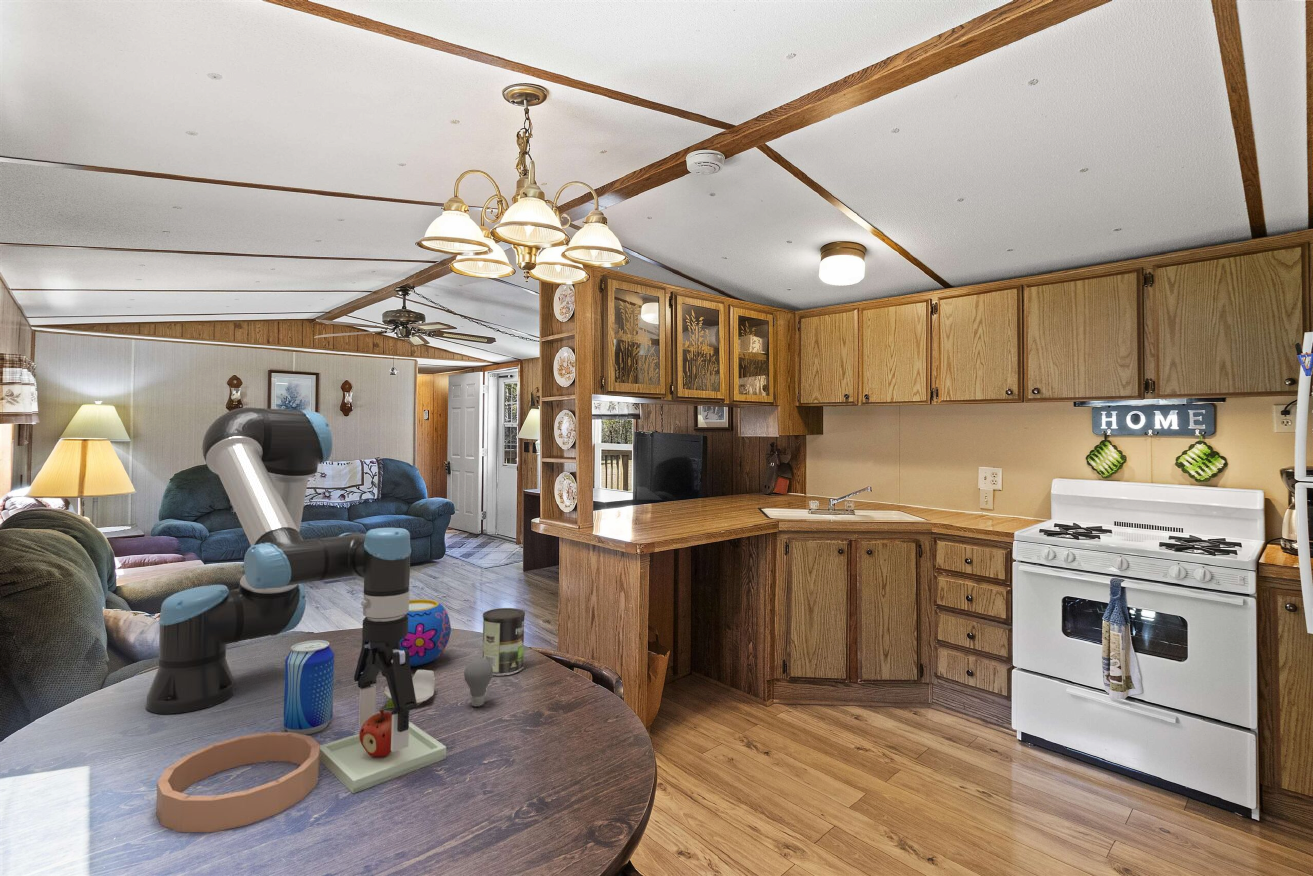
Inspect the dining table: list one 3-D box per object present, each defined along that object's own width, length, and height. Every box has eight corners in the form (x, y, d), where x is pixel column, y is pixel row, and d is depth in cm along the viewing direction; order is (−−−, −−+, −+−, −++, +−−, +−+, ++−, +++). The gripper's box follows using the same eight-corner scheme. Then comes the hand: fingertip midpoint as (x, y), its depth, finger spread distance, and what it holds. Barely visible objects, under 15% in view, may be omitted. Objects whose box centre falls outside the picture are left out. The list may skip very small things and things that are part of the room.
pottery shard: (378, 714, 128) (379, 690, 128) (386, 694, 139) (387, 671, 139) (432, 709, 131) (432, 685, 131) (435, 689, 142) (435, 667, 142)
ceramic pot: (388, 652, 166) (389, 596, 166) (456, 651, 168) (457, 596, 168) (364, 676, 148) (366, 613, 149) (441, 675, 150) (442, 613, 150)
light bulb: (476, 714, 129) (478, 665, 129) (457, 707, 132) (458, 660, 133) (498, 704, 134) (499, 658, 134) (478, 697, 138) (480, 652, 138)
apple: (365, 768, 105) (367, 709, 105) (354, 753, 110) (356, 696, 111) (411, 755, 110) (413, 698, 110) (398, 740, 115) (400, 686, 116)
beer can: (310, 739, 117) (313, 654, 117) (272, 734, 118) (275, 650, 119) (341, 720, 125) (344, 640, 125) (305, 715, 127) (308, 637, 127)
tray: (317, 758, 110) (317, 746, 110) (405, 729, 122) (405, 719, 122) (353, 793, 99) (353, 781, 99) (446, 758, 111) (446, 747, 111)
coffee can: (527, 662, 160) (529, 608, 161) (518, 677, 150) (519, 619, 150) (488, 661, 161) (489, 607, 161) (475, 676, 150) (477, 618, 150)
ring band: (146, 790, 99) (147, 762, 99) (294, 745, 114) (294, 721, 114) (173, 852, 84) (174, 819, 84) (338, 791, 100) (339, 763, 100)
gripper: (337, 606, 116) (333, 719, 116) (396, 635, 100) (392, 768, 99) (377, 599, 122) (374, 707, 122) (440, 626, 105) (436, 752, 105)
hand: (382, 735), depth 110 cm, fingers open, 13 cm apart
